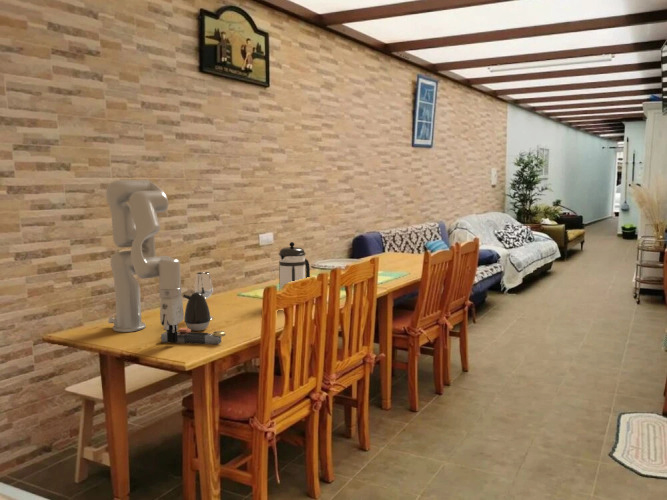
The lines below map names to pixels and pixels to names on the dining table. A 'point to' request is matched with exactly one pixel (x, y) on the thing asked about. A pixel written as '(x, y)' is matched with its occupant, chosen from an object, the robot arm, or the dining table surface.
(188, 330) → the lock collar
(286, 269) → the coffee press
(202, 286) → the wineglass
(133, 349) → the dining table surface
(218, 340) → the tongs moving arm
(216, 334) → the tongs fixed arm
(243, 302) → the dining table surface
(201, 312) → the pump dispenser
